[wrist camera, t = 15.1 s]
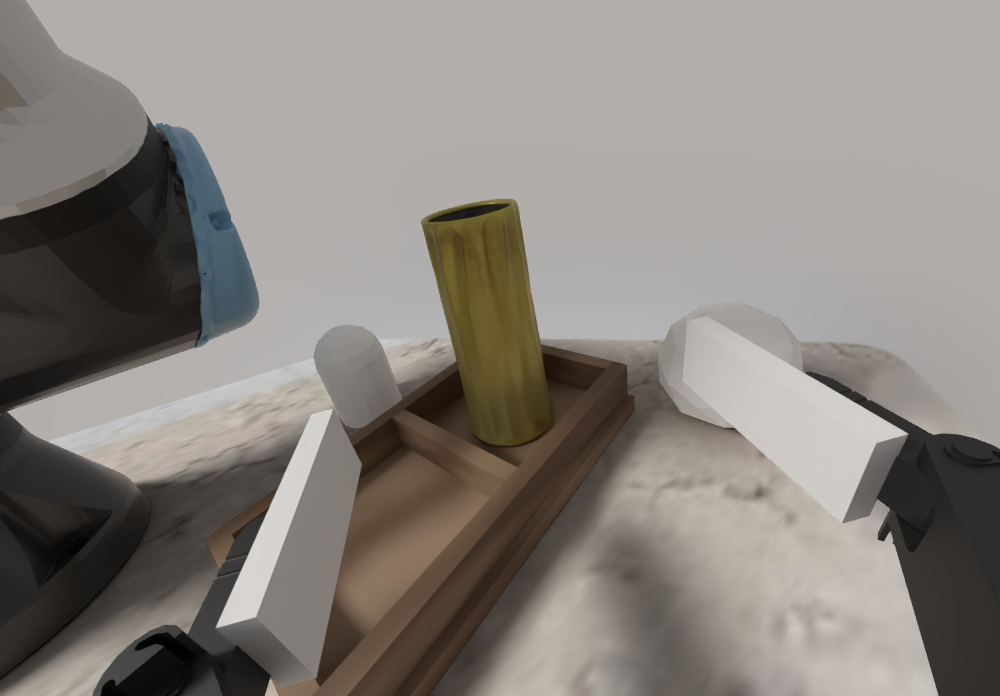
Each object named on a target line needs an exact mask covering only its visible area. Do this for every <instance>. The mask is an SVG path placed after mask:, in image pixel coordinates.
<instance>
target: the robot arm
mask: <svg viewBox="0 0 1000 696" xmlns="http://www.w3.org/2000/svg"><path fill="white" fill-rule="evenodd" d="M258 308H259V296H258V291H257V287H256V283H255V280H254V277H253V274H252V270H251V267H250V264H249V261H248V259H247V256H246V253H245V250H244V247H243V245H242V242H241V240H240V237H239V235H238V232H237V230H236V228H235V226H234V224H233V223H232V221H231V215H230V213H229V211H228V208H227V206H226V203H225V199H224V196H223V194H222V191H221V189H220V187H219V184H218V182H217V180H216V177H215V175H214V173H213V171H212V169H211V166H210V164H209V162H208V160H207V158H206V156H205V154H204V152H203V150H202V148H201V146H200V145H199V143H198V141H197V139H196V138H195V137H194V136H193V134H192V133H191V132H190V131H188V130H187V129H184V128H181V127H171V126H169V125H167V124H165V125H163V123H160V124H156V126H153V124H152V122H151V121H150V119H149V117H148V116H147V114H146V112H145V110H144V108H143V107H142V105H141V104H140V103H139V101H138V99H137V97H136V96H135V95H134V94H133V93H132V92H131V91H130V90H129V89H127V87H125V86H124V85H123V84H122V83H121V82H119V81H117V80H115V79H114V78H112V77H110V76H108V75H106V74H104V73H102V72H100V71H98V70H96V69H94V68H92V67H90V66H88V65H86V64H84V63H82V62H80V61H78V60H76V59H74V58H72V57H70V56H68V55H66V54H64V53H63V52H62V51H61V50H60V49H59V48H58V47H57V45H56V44H55V43H54V41H53V40H52V38H51V37H50V35H49V34H48V32H47V31H46V29H45V28H44V26H43V25H42V24H41V22H40V20H39V19H38V18H37V16H36V15H35V13H34V12H33V10H32V9H31V7H30V6H29V4H28V3H27V1H26V0H0V677H1V676H3V675H4V674H5V673H7V672H8V671H9V670H11V669H12V668H13V667H15V666H16V665H17V664H19V663H20V662H21V661H22V660H24V659H25V658H26V657H27V656H29V655H30V654H31V653H33V652H34V651H35V650H36V649H37V648H39V647H40V646H41V645H42V644H43V643H45V642H46V641H47V640H48V639H49V638H51V637H52V636H53V635H54V634H55V633H56V632H58V631H59V630H60V629H61V628H62V627H63V626H64V625H65V624H67V623H68V622H69V621H70V620H71V619H72V618H73V617H74V616H75V615H76V614H77V613H78V612H79V611H80V610H82V609H83V608H84V607H85V606H86V605H87V604H88V603H89V602H90V601H91V600H92V599H93V598H94V597H95V596H96V595H97V594H98V592H99V591H100V590H101V589H102V588H103V587H104V586H105V585H106V584H107V583H108V582H109V581H110V579H111V578H112V577H113V576H114V575H115V574H116V572H117V571H118V570H119V569H120V568H121V566H122V565H123V564H124V562H125V561H126V560H127V558H128V557H129V556H130V554H131V553H132V551H133V550H134V549H135V547H136V545H137V544H138V542H139V541H140V539H141V537H142V535H143V533H144V531H145V529H146V527H147V524H148V521H149V518H150V512H151V505H150V501H149V499H148V498H147V496H146V495H145V494H144V493H143V492H142V491H141V490H140V489H139V488H138V487H137V486H136V485H135V484H134V483H133V482H132V481H131V480H130V479H129V478H128V477H126V476H125V475H123V474H121V473H120V472H117V471H115V470H113V469H110V468H108V467H106V466H103V465H101V464H98V463H96V462H94V461H91V460H89V459H87V458H84V457H82V456H80V455H77V454H75V453H73V452H70V451H68V450H66V449H63V448H61V447H59V446H56V445H54V444H52V443H49V442H47V441H45V440H42V439H40V438H38V437H36V436H34V435H33V434H31V433H30V432H29V431H27V430H26V429H25V428H24V427H23V426H22V425H21V424H20V423H19V422H18V421H16V420H15V419H14V418H13V417H12V416H11V415H10V414H9V413H8V412H7V411H9V410H12V409H15V408H18V407H21V406H24V405H27V404H30V403H33V402H35V401H38V400H41V399H44V398H47V397H50V396H53V395H56V394H59V393H62V392H65V391H68V390H71V389H74V388H77V387H80V386H82V385H86V384H88V383H91V382H94V381H97V380H100V379H103V378H106V377H109V376H112V375H115V374H118V373H121V372H124V371H127V370H130V369H132V368H135V367H138V366H141V365H144V364H147V363H150V362H153V361H156V360H159V359H162V358H165V357H168V356H171V355H174V354H177V353H180V352H183V351H186V350H188V349H191V348H195V347H196V348H198V347H200V346H203V345H204V344H206V343H207V342H208V340H211V339H213V338H216V337H218V336H221V335H223V334H225V333H228V332H230V331H233V330H235V329H237V328H240V327H242V326H244V325H246V324H247V323H249V322H250V321H251V320H252V319H253V318H254V317H255V315H256V313H257V311H258ZM683 382H684V383H685V384H686V385H687V386H688V387H690V388H691V389H692V390H693V391H694V392H695V393H696V394H697V395H698V396H700V397H701V398H702V399H703V400H704V401H705V402H706V403H707V404H709V405H710V406H711V407H712V408H713V409H714V410H715V411H716V412H717V413H719V414H720V415H721V416H722V417H723V418H724V419H725V420H726V421H728V422H729V423H730V424H731V425H732V426H733V427H734V428H735V429H736V430H738V431H739V432H740V433H741V434H742V435H743V436H744V437H745V438H746V439H748V440H749V441H750V442H751V443H752V444H753V445H754V446H755V447H757V448H758V449H759V450H760V451H761V452H762V453H763V454H764V455H765V456H767V457H768V458H769V459H770V460H771V461H772V462H773V463H774V464H776V465H777V466H778V467H779V468H780V469H781V470H782V471H783V472H784V473H786V474H787V475H788V476H789V477H790V478H791V479H792V480H793V481H794V482H796V483H797V484H798V485H799V486H800V487H801V488H802V489H803V490H805V491H806V492H807V493H808V494H809V495H810V496H811V497H812V498H813V499H815V500H816V501H817V502H818V503H819V504H820V505H821V506H822V507H824V508H825V509H826V510H827V511H828V512H829V513H830V514H831V515H832V516H834V517H835V518H836V519H837V520H838V521H839V522H840V523H841V524H842V523H846V522H849V521H853V520H856V519H860V518H863V517H866V516H869V515H870V513H871V511H872V509H873V507H874V505H875V503H876V501H877V499H878V500H880V501H881V502H882V503H883V504H885V505H886V506H887V507H889V508H890V511H889V512H888V514H887V516H886V518H885V520H884V522H883V524H882V526H881V528H880V530H879V532H878V540H881V541H884V540H885V538H886V537H887V535H888V533H889V532H890V531H891V534H892V537H893V540H894V541H893V544H895V547H896V551H897V554H898V558H899V561H900V564H901V568H902V571H903V575H904V578H905V582H906V585H907V588H908V592H909V595H910V599H911V602H912V606H913V609H914V613H915V616H916V619H917V623H918V626H919V630H920V633H921V637H922V640H923V643H924V647H925V650H926V654H927V657H928V661H929V664H930V667H931V671H932V674H933V678H934V681H935V685H936V688H937V692H938V695H939V696H1000V449H998V448H997V447H995V446H993V445H991V444H988V443H986V442H983V441H980V440H978V439H975V438H971V437H966V436H962V435H957V434H937V435H932V434H930V433H928V432H927V431H925V430H923V429H921V428H920V427H918V426H916V425H914V424H912V423H911V422H909V421H907V420H905V419H903V418H902V417H900V416H898V415H896V414H894V413H893V412H891V411H889V410H887V409H885V408H884V407H882V406H880V405H878V404H876V403H875V402H873V401H871V400H870V401H868V400H867V398H866V397H864V396H862V395H860V394H859V393H857V392H855V391H854V392H852V391H851V389H850V388H848V387H846V386H844V385H842V384H841V383H839V382H837V381H835V380H833V379H831V378H828V377H825V376H822V375H819V374H816V373H813V372H806V373H803V372H802V371H800V370H798V369H796V368H795V367H793V366H791V365H790V364H788V363H786V362H784V361H783V360H781V359H779V358H778V357H776V356H774V355H772V354H771V353H769V352H767V351H766V350H764V349H762V348H760V347H759V346H757V345H755V344H754V343H752V342H750V341H749V340H747V339H745V338H743V337H742V336H740V335H738V334H737V333H735V332H733V331H731V330H730V329H728V328H726V327H725V326H723V325H721V324H719V323H718V322H716V321H714V320H713V319H711V318H709V317H707V316H704V317H700V318H696V319H692V320H688V321H687V328H686V341H685V355H684V368H683ZM361 466H362V464H361V462H360V460H359V458H358V456H357V454H356V452H355V450H354V448H353V446H352V444H351V442H350V440H349V438H348V436H347V434H346V432H345V430H344V428H343V426H342V424H341V423H340V421H339V419H338V417H337V415H336V413H335V411H334V409H330V410H326V411H322V412H318V413H314V414H311V416H310V418H309V420H308V423H307V425H306V427H305V429H304V432H303V434H302V436H301V438H300V441H299V443H298V445H297V447H296V449H295V452H294V454H293V456H292V458H291V461H290V463H289V465H288V467H287V470H286V472H285V474H284V476H283V478H282V481H281V483H280V485H279V487H278V490H277V492H276V494H275V496H274V499H273V501H272V503H271V505H270V507H269V510H268V512H267V514H266V516H264V517H261V518H257V519H253V520H251V521H250V522H249V523H248V524H247V526H246V527H245V528H244V529H243V530H242V532H241V533H240V534H239V535H238V536H237V537H236V539H235V540H234V542H233V544H232V546H231V548H230V550H229V552H228V554H227V556H226V558H225V559H226V562H225V563H223V564H222V566H221V568H220V570H219V572H218V574H217V579H216V580H214V582H213V584H212V586H211V588H210V590H209V592H208V594H207V596H206V598H205V600H204V602H203V604H202V606H201V608H200V610H199V612H198V614H197V616H196V618H195V620H194V622H193V624H192V626H191V628H190V630H189V632H188V634H186V633H185V632H183V631H182V630H181V629H180V628H179V627H177V626H176V625H164V626H161V627H158V628H156V629H153V630H150V631H149V632H147V633H146V634H144V635H143V636H141V637H140V638H138V639H137V640H135V641H134V642H133V643H132V644H130V645H129V646H128V647H127V648H126V649H125V650H124V651H123V652H122V653H121V654H119V655H118V656H117V657H116V659H115V660H114V661H113V662H112V664H111V665H110V666H109V667H108V669H107V670H106V671H105V672H104V673H103V675H102V677H101V679H100V681H99V682H98V684H97V686H96V688H95V690H94V692H93V696H265V693H266V690H267V686H268V683H269V680H270V677H271V678H272V679H273V680H274V681H275V682H276V683H277V684H278V685H280V686H281V687H282V688H284V687H288V686H291V685H295V684H298V683H301V682H305V681H308V680H312V679H315V678H316V677H317V673H318V668H319V663H320V658H321V654H322V649H323V644H324V640H325V635H326V630H327V626H328V621H329V616H330V612H331V607H332V602H333V597H334V593H335V588H336V583H337V579H338V574H339V569H340V565H341V560H342V555H343V551H344V546H345V541H346V536H347V532H348V527H349V522H350V518H351V513H352V508H353V504H354V499H355V494H356V490H357V485H358V480H359V475H360V471H361Z"/></svg>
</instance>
